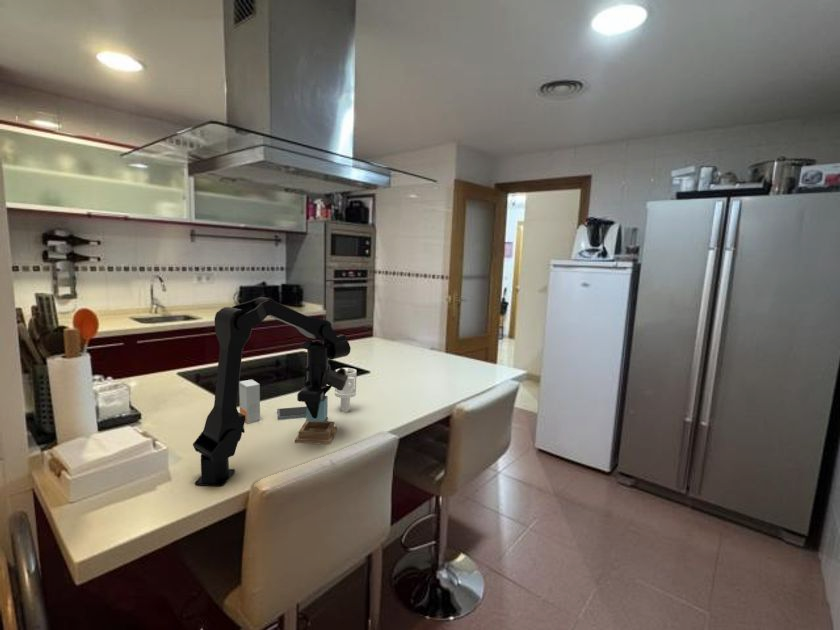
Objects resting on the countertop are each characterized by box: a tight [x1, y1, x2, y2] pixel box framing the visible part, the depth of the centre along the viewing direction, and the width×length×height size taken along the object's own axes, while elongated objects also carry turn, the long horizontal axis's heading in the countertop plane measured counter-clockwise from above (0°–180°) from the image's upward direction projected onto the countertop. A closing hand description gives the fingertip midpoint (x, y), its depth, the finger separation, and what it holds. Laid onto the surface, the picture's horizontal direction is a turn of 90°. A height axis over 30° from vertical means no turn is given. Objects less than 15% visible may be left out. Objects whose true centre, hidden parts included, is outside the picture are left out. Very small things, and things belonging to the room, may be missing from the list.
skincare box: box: [238, 379, 261, 424], centre depth 128 cm, size 6×4×12 cm
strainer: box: [334, 367, 357, 413], centre depth 139 cm, size 7×7×15 cm
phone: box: [276, 406, 306, 421], centre depth 135 cm, size 7×14×1 cm, turn 110°
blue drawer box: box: [305, 395, 329, 422], centre depth 118 cm, size 4×5×6 cm
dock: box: [294, 420, 338, 445], centre depth 119 cm, size 10×10×3 cm
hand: (316, 414), depth 119 cm, fingers closed on blue drawer box, 4 cm apart
